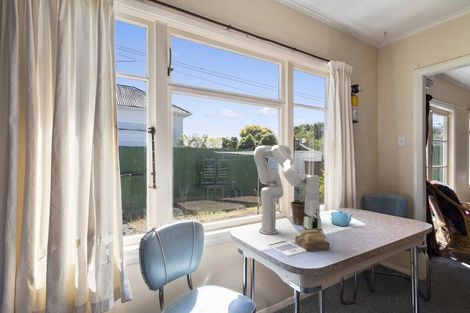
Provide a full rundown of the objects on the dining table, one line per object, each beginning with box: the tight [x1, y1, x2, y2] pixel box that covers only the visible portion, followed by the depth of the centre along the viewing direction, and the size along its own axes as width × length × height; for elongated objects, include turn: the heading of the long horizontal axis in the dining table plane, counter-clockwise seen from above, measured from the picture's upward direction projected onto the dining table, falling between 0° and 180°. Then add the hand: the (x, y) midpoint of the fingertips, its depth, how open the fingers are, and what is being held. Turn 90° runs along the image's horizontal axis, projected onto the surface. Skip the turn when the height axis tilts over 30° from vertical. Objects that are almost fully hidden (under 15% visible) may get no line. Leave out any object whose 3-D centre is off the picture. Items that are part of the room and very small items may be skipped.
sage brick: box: [304, 216, 322, 229], centre depth 145 cm, size 5×8×6 cm, turn 102°
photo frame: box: [266, 240, 307, 257], centre depth 142 cm, size 15×1×18 cm
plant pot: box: [290, 200, 307, 227], centre depth 193 cm, size 16×16×16 cm
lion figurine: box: [302, 223, 327, 238], centre depth 164 cm, size 15×5×9 cm, turn 71°
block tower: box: [294, 229, 330, 252], centre depth 145 cm, size 14×14×8 cm
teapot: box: [330, 210, 354, 227], centre depth 191 cm, size 13×11×18 cm
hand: (312, 226), depth 145 cm, fingers closed on sage brick, 4 cm apart
